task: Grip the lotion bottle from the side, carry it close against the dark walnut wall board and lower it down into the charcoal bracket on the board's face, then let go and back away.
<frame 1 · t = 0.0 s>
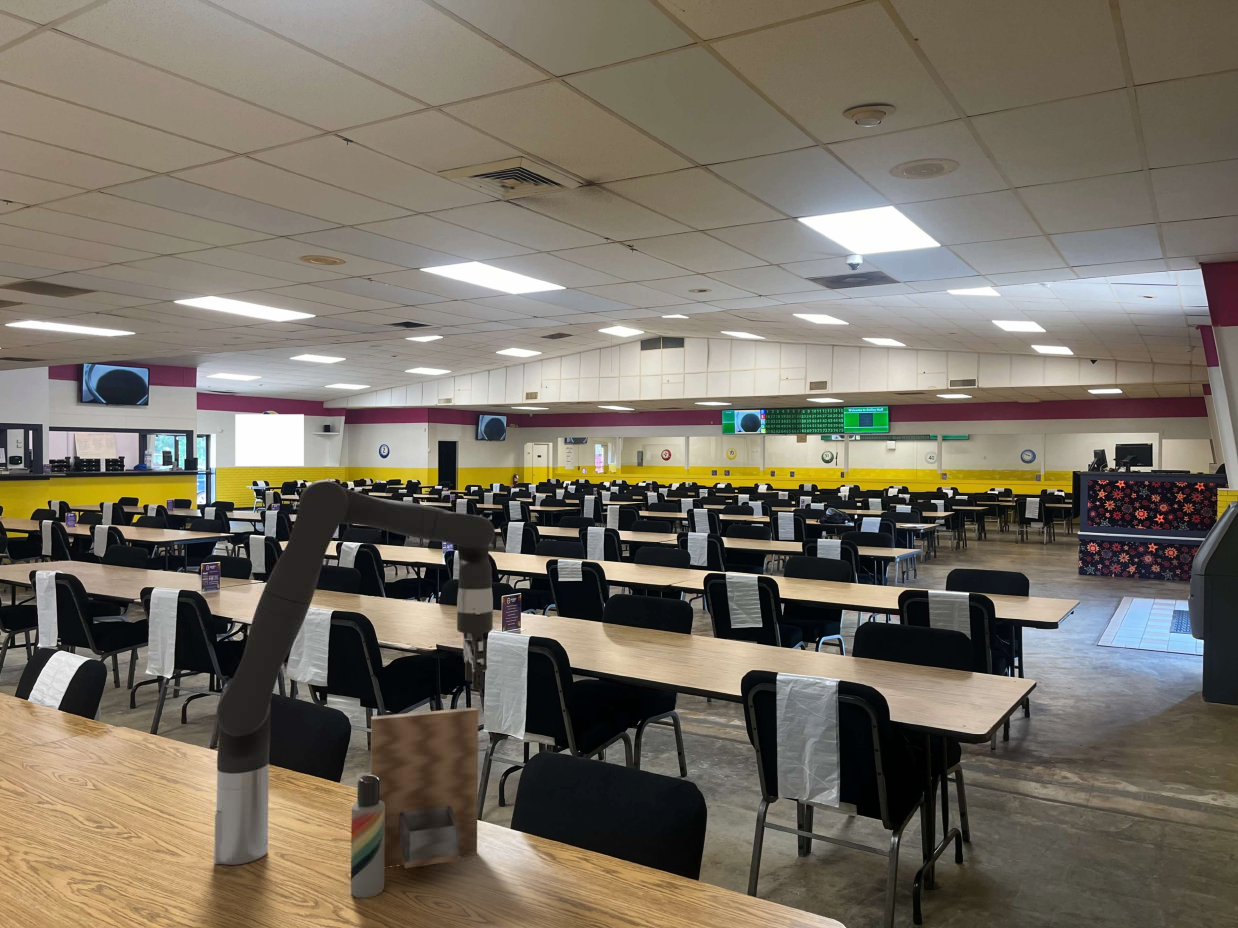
hand: (474, 684, 179), 29 cm above the table, tool pointing down, fingers open, 8 cm apart
lotion bottle: (367, 891, 149), on the table
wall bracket: (428, 874, 155), on the table
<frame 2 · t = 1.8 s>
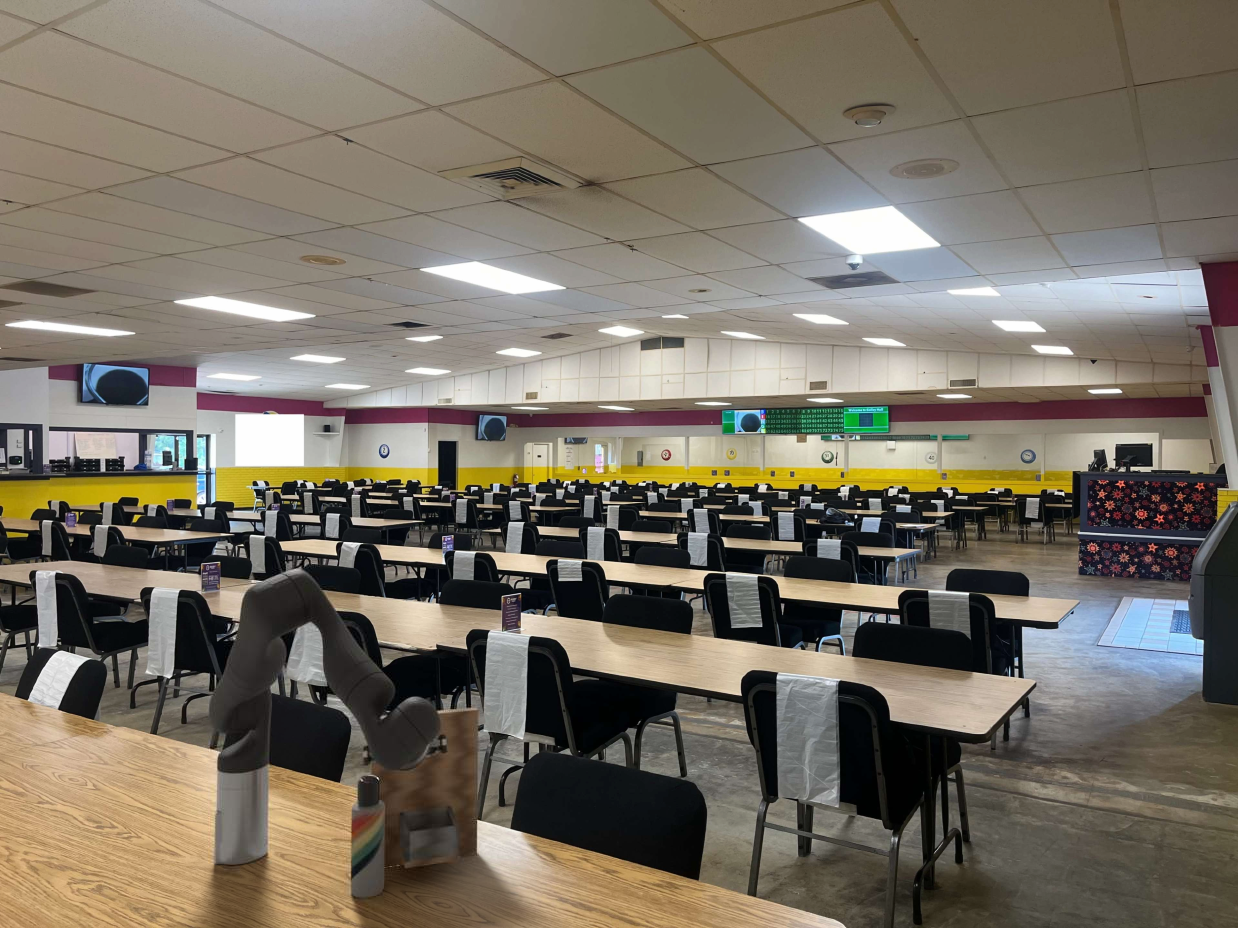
hand: (405, 753, 151), 24 cm above the table, tool tilted 65°, fingers open, 8 cm apart
nothing on the table moved.
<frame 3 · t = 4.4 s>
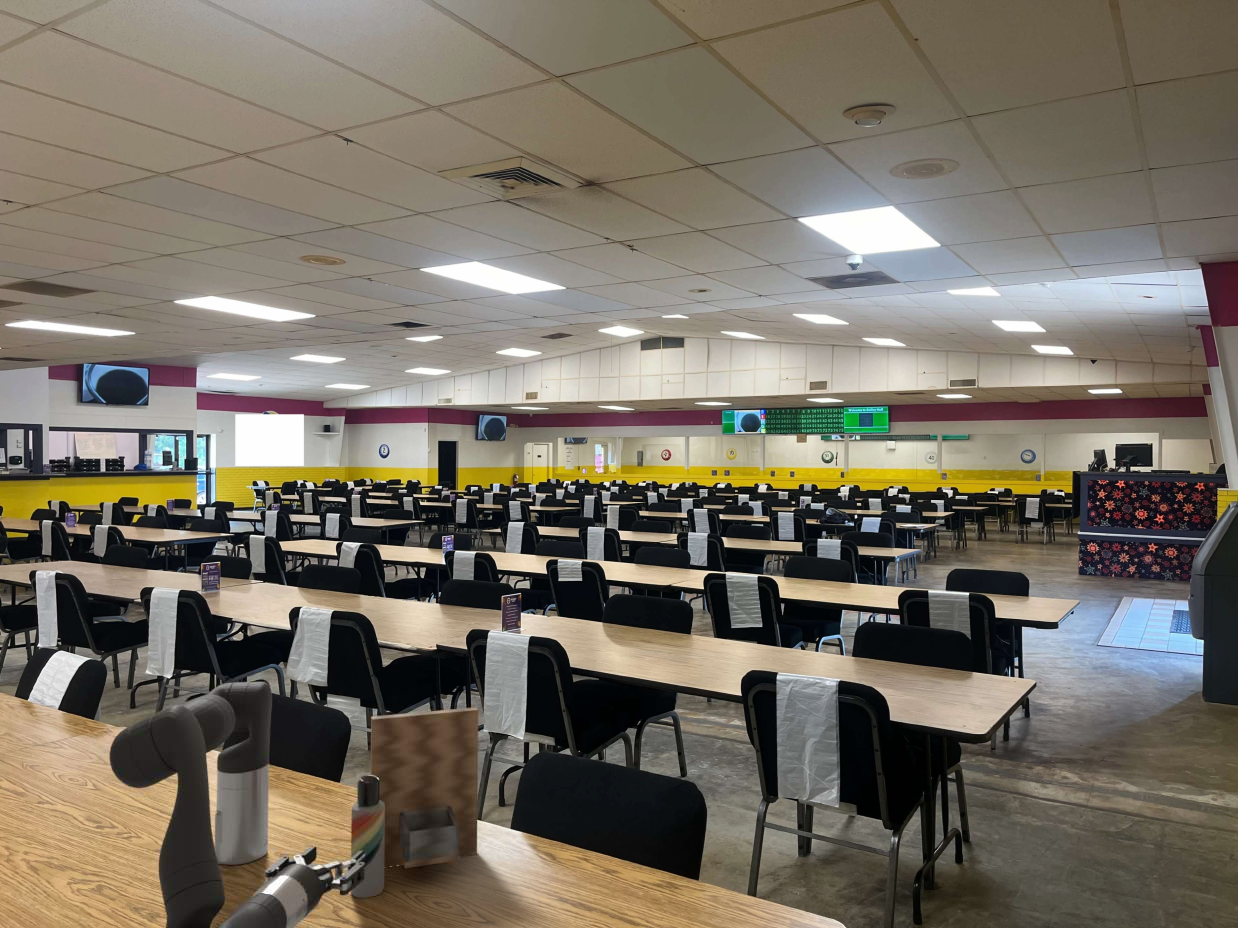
hand: (338, 853, 139), 11 cm above the table, tool horizontal, fingers open, 8 cm apart
nothing on the table moved.
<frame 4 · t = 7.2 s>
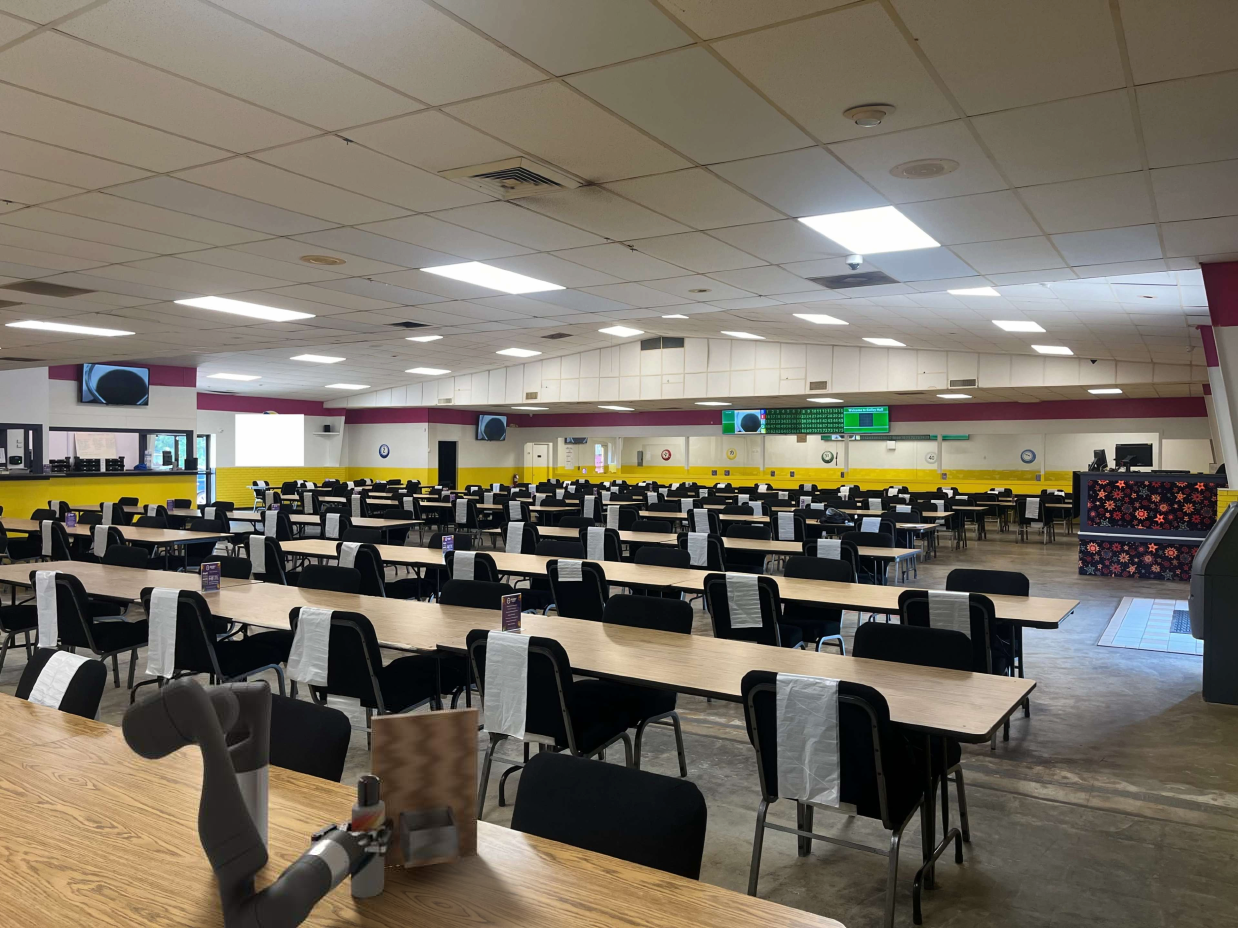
hand: (374, 822, 152), 11 cm above the table, tool horizontal, fingers closed on lotion bottle, 5 cm apart
lotion bottle: (367, 891, 149), on the table, touching gripper
everything else where it was.
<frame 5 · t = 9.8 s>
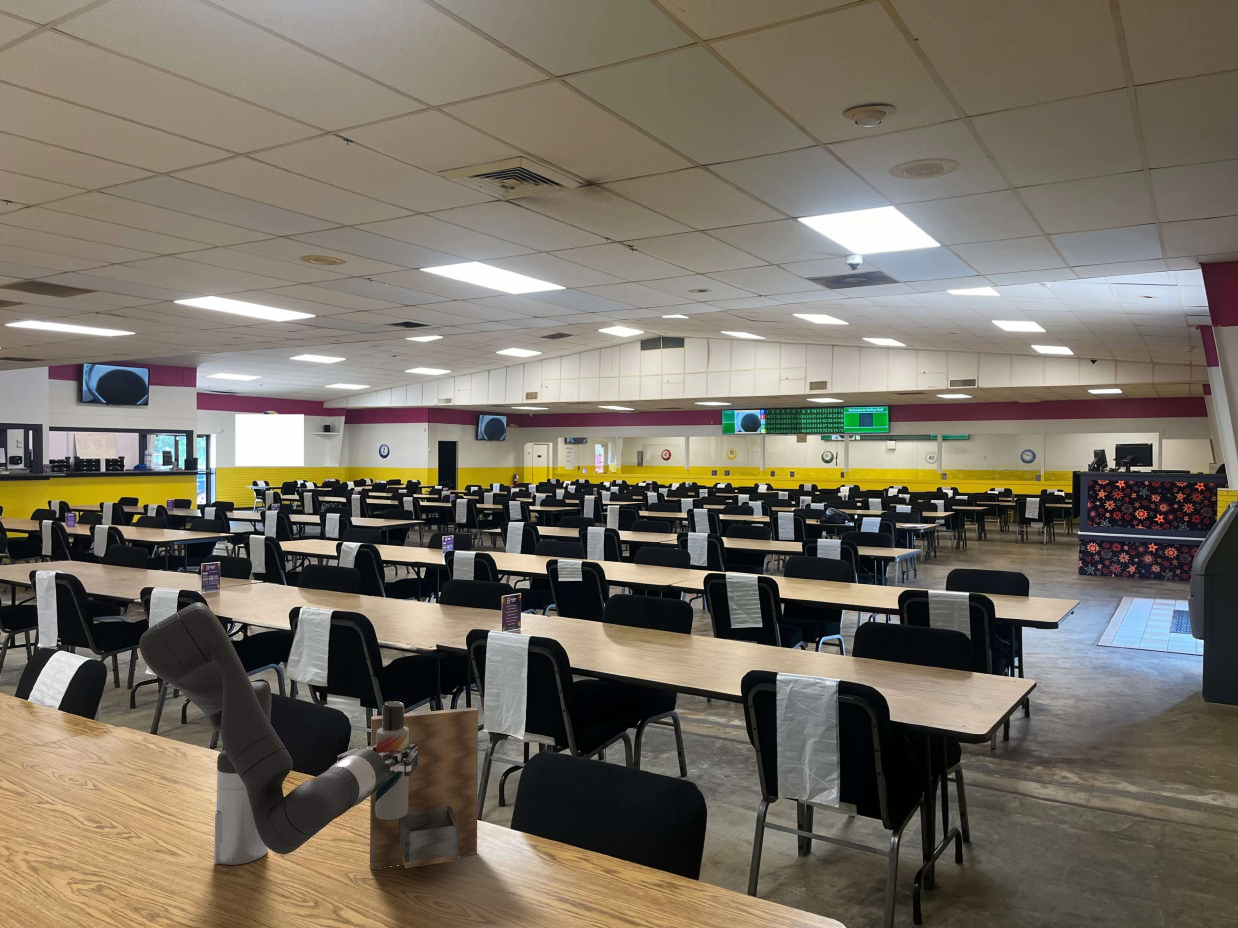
hand: (398, 748, 154), 24 cm above the table, tool horizontal, fingers closed on lotion bottle, 5 cm apart
lotion bottle: (391, 815, 151), point 13 cm above the table, touching gripper
everything else where it was.
when the fingers open (17 cm above the table, at t = 12.6 s): lotion bottle stays where it is, resting on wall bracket.
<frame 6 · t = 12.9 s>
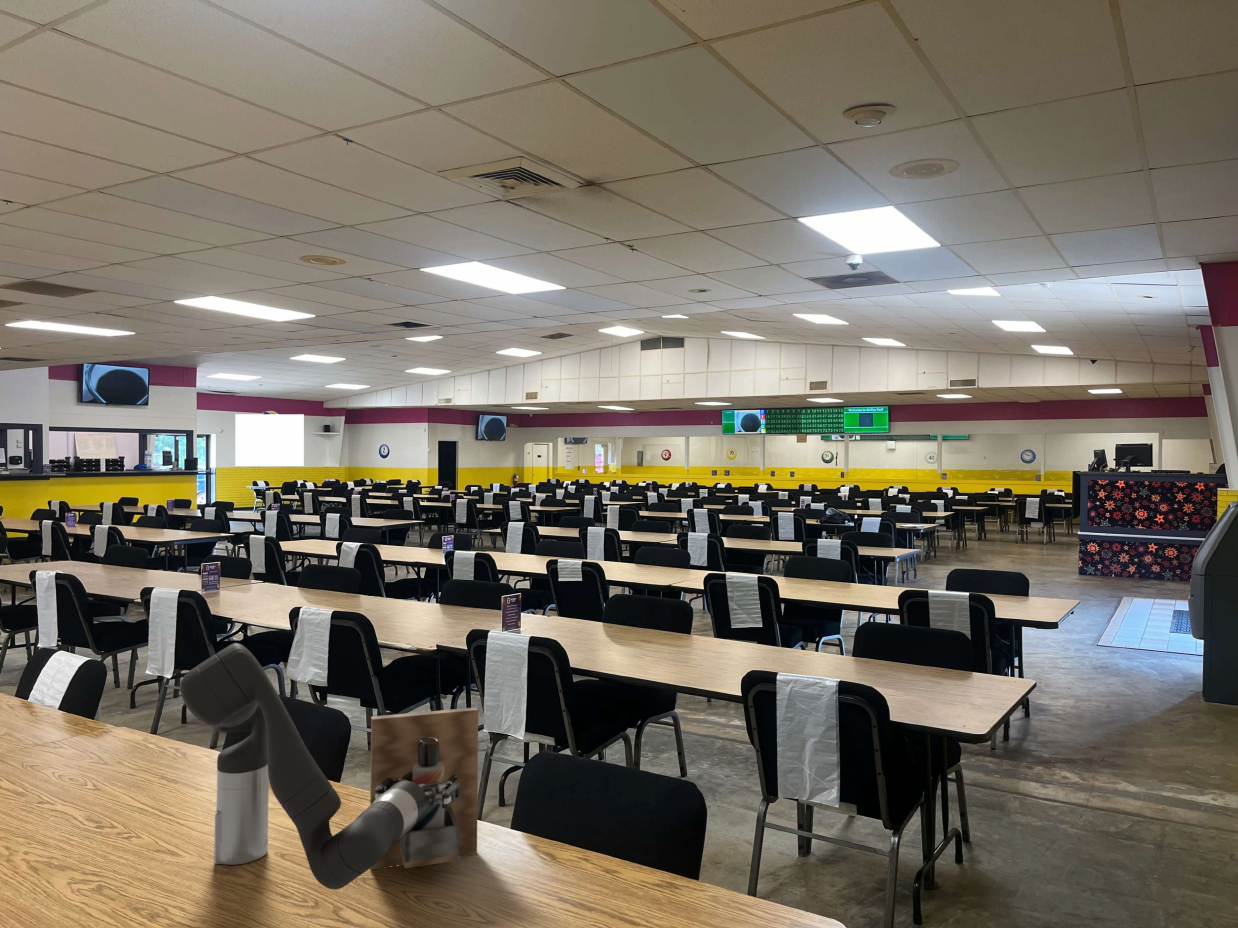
hand: (433, 778, 157), 17 cm above the table, tool horizontal, fingers open, 8 cm apart
lotion bottle: (428, 848, 155), point 5 cm above the table, touching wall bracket
everything else where it was.
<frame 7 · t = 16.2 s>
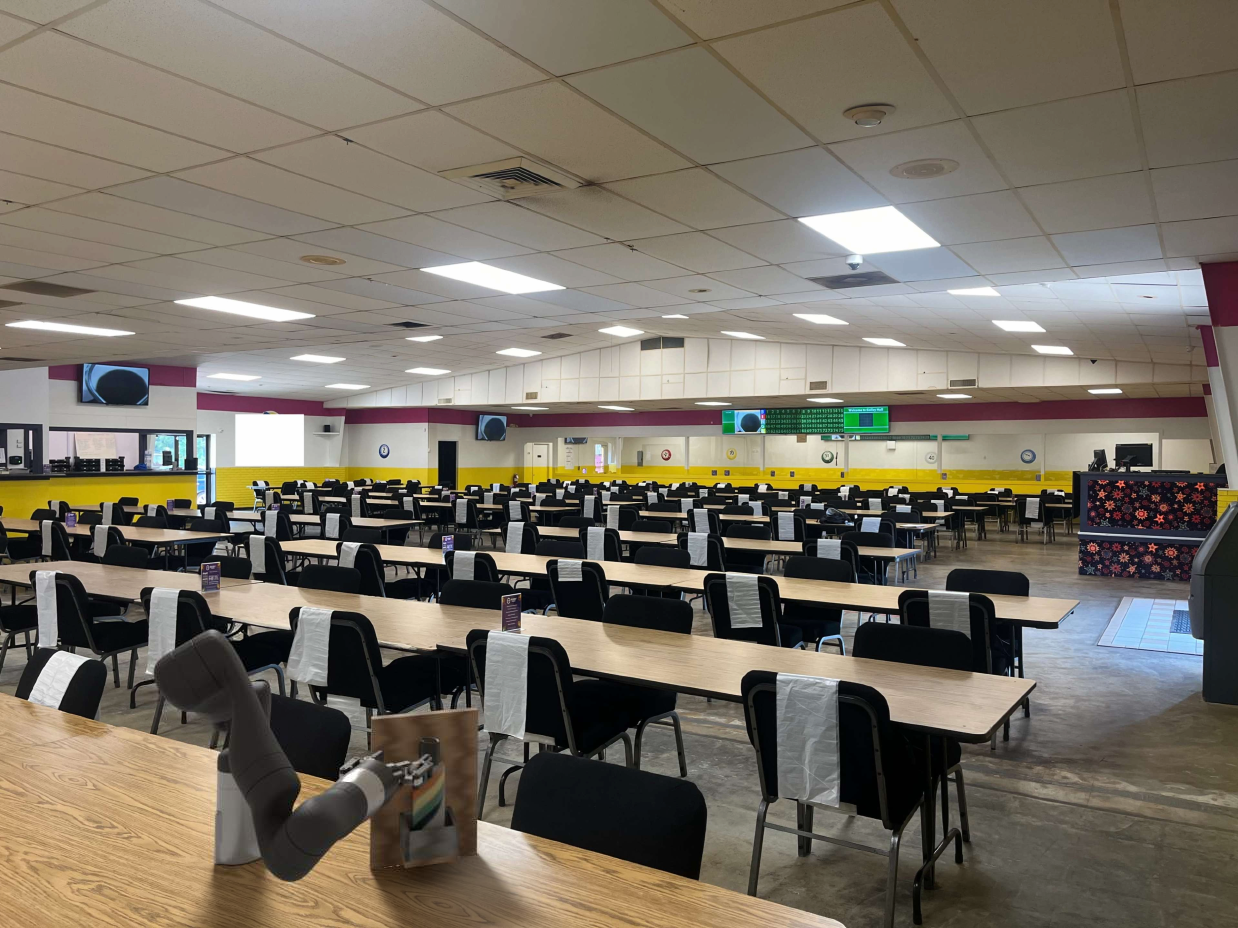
hand: (404, 757, 145), 25 cm above the table, tool horizontal, fingers open, 8 cm apart
nothing on the table moved.
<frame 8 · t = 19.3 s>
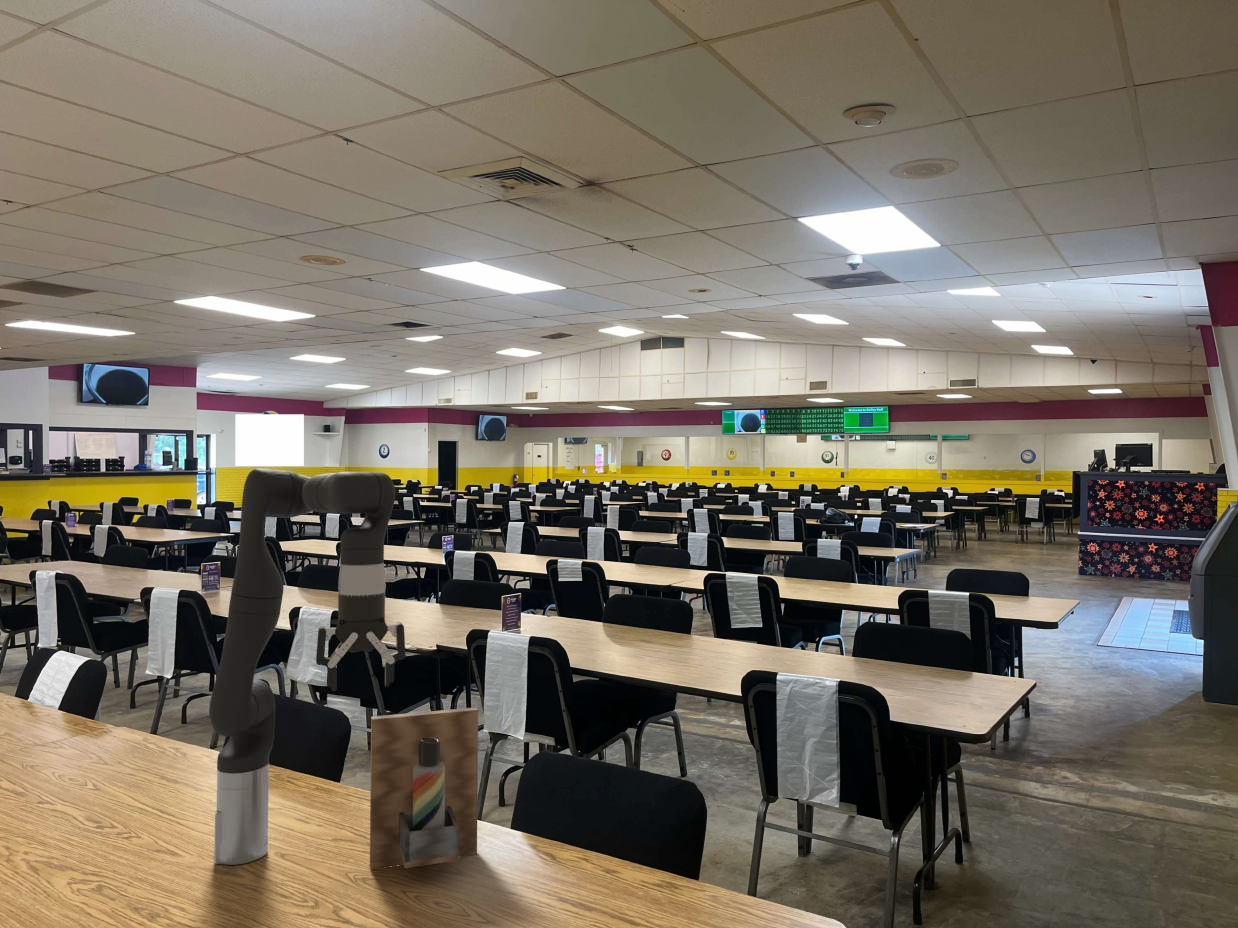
hand: (360, 687, 141), 38 cm above the table, tool pointing down, fingers open, 8 cm apart
nothing on the table moved.
at the end: lotion bottle 0.1 cm off-centre on the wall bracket, point 4.8 cm above the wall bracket's base; lotion bottle tilted 0°; the gripper is holding nothing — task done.
